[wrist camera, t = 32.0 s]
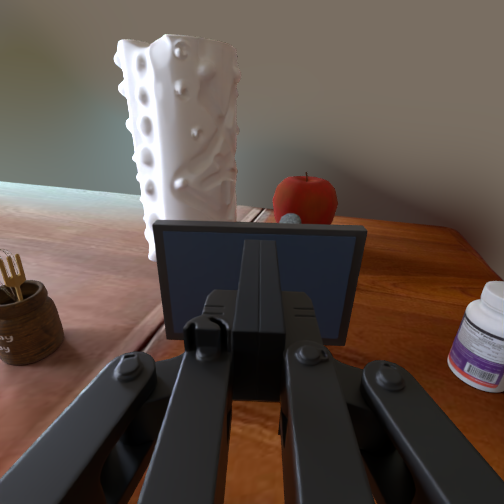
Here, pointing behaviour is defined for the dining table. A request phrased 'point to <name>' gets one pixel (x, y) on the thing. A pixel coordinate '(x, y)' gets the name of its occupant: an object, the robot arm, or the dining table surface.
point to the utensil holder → (26, 318)
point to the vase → (182, 126)
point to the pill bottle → (481, 341)
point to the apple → (306, 199)
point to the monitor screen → (229, 264)
